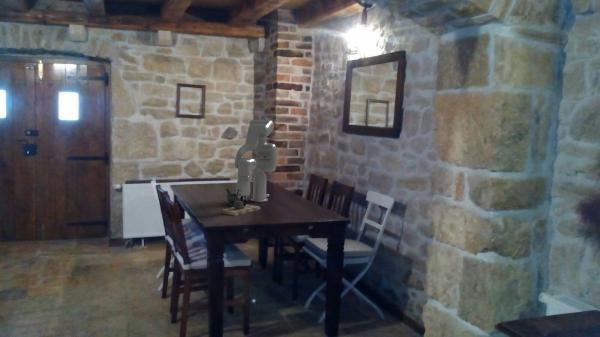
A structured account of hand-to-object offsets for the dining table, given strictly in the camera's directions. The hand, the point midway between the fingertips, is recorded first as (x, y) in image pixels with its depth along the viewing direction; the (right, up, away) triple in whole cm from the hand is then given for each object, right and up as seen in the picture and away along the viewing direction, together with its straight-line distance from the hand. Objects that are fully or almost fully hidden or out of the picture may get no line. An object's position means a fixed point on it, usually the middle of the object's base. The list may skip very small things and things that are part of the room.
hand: (243, 205), depth 319 cm
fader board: (-1, -3, -1) cm, 4 cm away
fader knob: (-2, -1, -4) cm, 4 cm away
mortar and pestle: (-9, -1, +19) cm, 21 cm away
